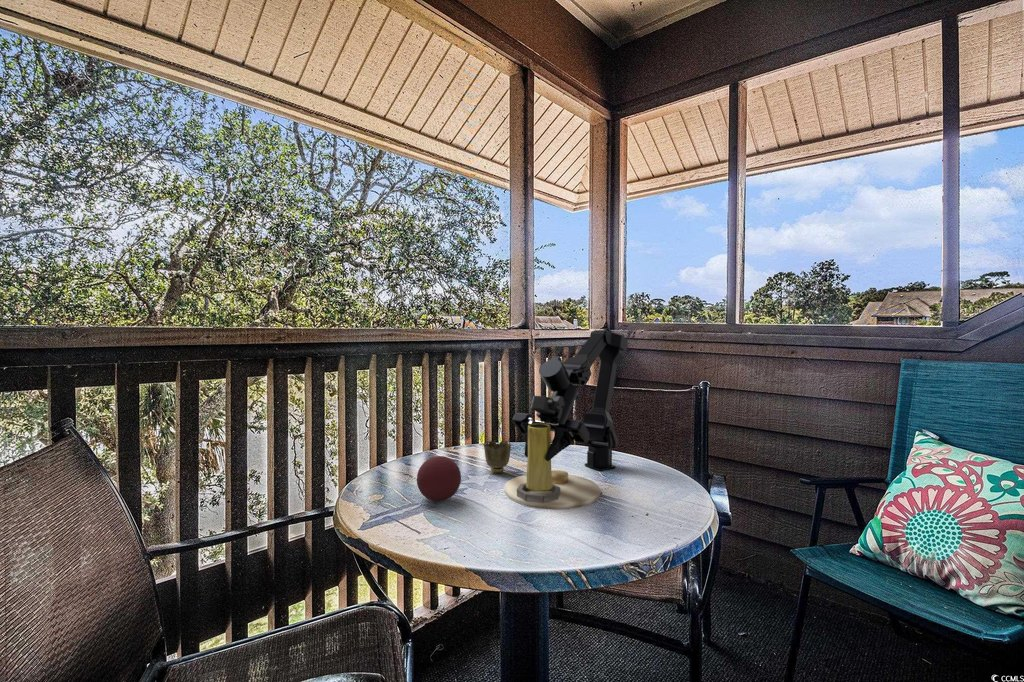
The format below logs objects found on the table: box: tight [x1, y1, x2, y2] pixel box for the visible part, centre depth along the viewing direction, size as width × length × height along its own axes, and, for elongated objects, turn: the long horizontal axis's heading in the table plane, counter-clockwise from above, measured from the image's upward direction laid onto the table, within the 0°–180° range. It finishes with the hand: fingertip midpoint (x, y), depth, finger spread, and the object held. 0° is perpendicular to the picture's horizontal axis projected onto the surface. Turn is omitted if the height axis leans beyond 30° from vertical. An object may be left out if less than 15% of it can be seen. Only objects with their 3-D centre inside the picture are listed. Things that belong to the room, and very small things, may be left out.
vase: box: [526, 423, 553, 491], centre depth 109 cm, size 6×6×14 cm
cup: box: [483, 440, 512, 475], centre depth 130 cm, size 8×7×8 cm
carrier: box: [504, 469, 601, 510], centre depth 115 cm, size 23×23×3 cm
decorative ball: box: [416, 455, 462, 502], centre depth 108 cm, size 10×10×10 cm
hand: (536, 458), depth 108 cm, fingers closed on vase, 5 cm apart
